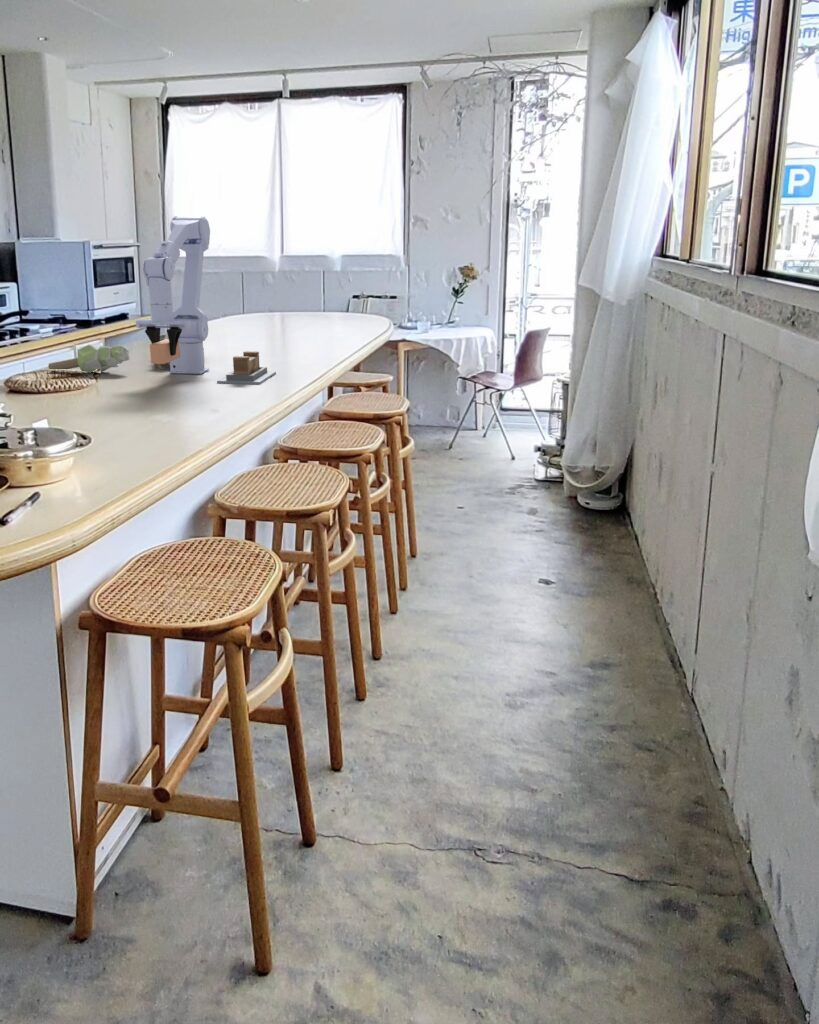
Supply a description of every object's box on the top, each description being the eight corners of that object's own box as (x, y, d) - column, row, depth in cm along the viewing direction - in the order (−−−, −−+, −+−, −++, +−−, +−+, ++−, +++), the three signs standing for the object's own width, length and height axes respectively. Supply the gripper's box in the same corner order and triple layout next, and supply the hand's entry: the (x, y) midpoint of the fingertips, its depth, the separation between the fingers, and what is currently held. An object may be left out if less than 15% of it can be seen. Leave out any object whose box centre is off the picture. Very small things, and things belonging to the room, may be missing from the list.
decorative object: (40, 372, 240) (119, 357, 236) (44, 345, 244) (122, 329, 240) (58, 389, 248) (135, 374, 244) (62, 362, 252) (138, 347, 248)
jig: (217, 383, 230) (216, 375, 230) (236, 372, 247) (235, 365, 247) (259, 384, 229) (259, 376, 229) (275, 373, 246) (275, 366, 246)
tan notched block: (248, 379, 232) (247, 357, 230) (234, 379, 232) (232, 357, 231) (259, 372, 243) (258, 351, 241) (246, 372, 244) (245, 351, 242)
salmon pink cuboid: (164, 363, 224) (162, 345, 222) (151, 363, 224) (149, 344, 223) (180, 357, 235) (178, 339, 234) (167, 356, 236) (166, 338, 234)
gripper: (129, 304, 222) (134, 356, 226) (182, 305, 220) (186, 357, 225) (139, 302, 228) (144, 352, 233) (191, 303, 227) (195, 353, 231)
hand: (165, 354), depth 229 cm, fingers closed on salmon pink cuboid, 4 cm apart
